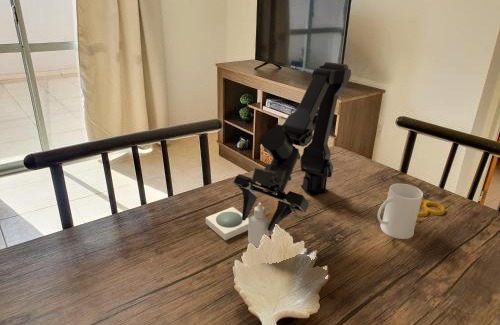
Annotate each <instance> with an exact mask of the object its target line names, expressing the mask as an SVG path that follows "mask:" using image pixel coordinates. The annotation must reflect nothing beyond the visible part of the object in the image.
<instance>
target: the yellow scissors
mask: <svg viewBox="0 0 500 325" xmlns="http://www.w3.org/2000/svg"><path fill="white" fill-rule="evenodd" d="M428 206H432V207H436V208H439V209H440V210H435V209H432V208H430V207H428ZM420 209H422V210H423V212H421V211H419V212H418V216H417V220H416V222H422V219H421V217H423V218H424V217H426V216H428V215H429V214H430V215H435V216H442V215H445V212H446V209H445V207H444V206H443V205H442V204H440V203H437V202H434V201H431V200H428V199H424V198H422V201H421V205H420ZM419 217H420V218H419Z"/></svg>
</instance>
